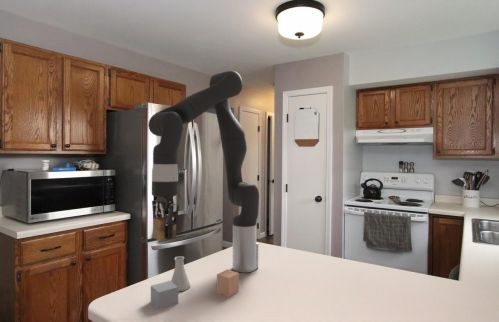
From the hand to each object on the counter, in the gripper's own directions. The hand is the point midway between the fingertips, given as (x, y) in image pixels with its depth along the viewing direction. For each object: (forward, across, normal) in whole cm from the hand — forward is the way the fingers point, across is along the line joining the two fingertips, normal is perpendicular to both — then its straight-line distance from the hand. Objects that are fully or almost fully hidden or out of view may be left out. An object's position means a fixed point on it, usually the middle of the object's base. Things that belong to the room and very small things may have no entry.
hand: (164, 236), depth 92 cm
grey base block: (+20, 0, 0) cm, 20 cm away
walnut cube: (0, 0, 0) cm, 0 cm away
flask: (+20, +7, -9) cm, 23 cm away
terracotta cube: (+20, -6, -19) cm, 28 cm away
